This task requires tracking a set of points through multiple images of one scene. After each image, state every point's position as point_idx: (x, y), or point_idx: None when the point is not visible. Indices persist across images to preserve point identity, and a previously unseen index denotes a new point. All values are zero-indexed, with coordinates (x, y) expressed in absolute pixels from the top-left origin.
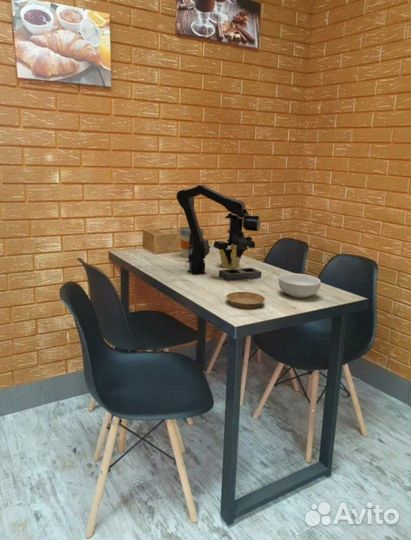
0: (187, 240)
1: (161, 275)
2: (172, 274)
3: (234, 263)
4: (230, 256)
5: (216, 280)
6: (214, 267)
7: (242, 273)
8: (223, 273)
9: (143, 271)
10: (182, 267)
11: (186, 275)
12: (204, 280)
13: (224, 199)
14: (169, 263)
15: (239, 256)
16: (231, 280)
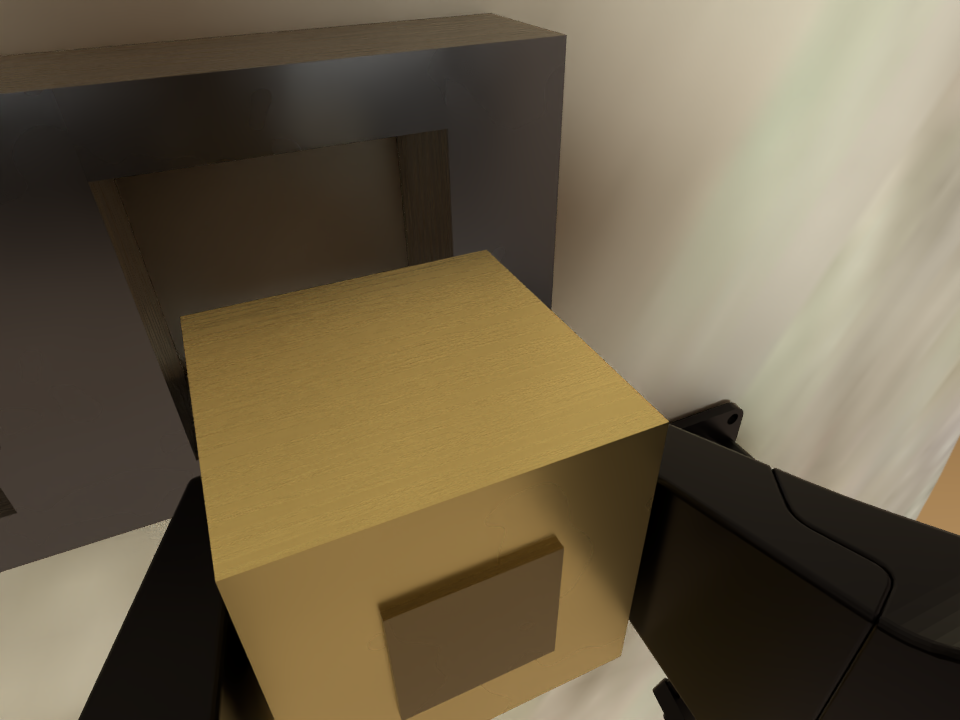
0: None
1: (943, 372)
2: (863, 406)
3: (426, 320)
4: (722, 505)
5: (641, 114)
6: None
7: (63, 85)
8: (542, 237)
9: (943, 467)
10: None
11: (795, 379)
12: (781, 148)
13: None
14: None
15: (206, 689)
16: (396, 23)
